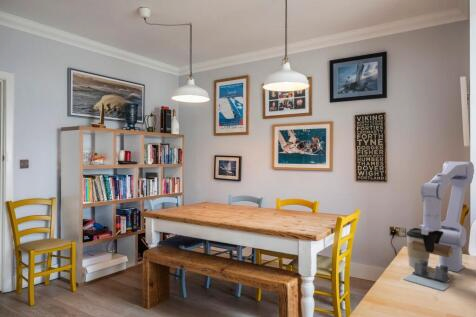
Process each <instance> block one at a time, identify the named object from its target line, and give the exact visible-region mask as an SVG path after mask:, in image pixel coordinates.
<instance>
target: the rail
mask: <svg viewBox="0 0 476 317" xmlns="http://www.w3.org/2000/svg"><path fill="white" fill-rule="evenodd" d="M412 248H413V250H416V251H421V252H426V253H430V255H434V256H435V255H436V256H438V257H439V256H444V257H449V256H451V255H453V248H451V246H447V245H442V244H437V243H435V244H434V250H433V252H432V253H431V252H427V251H426V249H425V245H424V241H422V240H417V239H416V240H414V241H412Z"/></svg>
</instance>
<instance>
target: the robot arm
mask: <svg viewBox="0 0 476 317" xmlns="http://www.w3.org/2000/svg"><path fill="white" fill-rule="evenodd" d="M474 175H475V166H474V163H473V162H472V161H452V160H451V161H449V160H446V161H444V163H443V164H442V172H438V173H437V174H436V175H434V177H433V178H431V180H429V182H425V183H422V185H421V188H420V195H421V197H422V198H421V200H422V202H423V211H422V212H423V213H422V214H423V217H422V218H423V219H422V221H423V222H422V223H423V224H419V227H421V228H420V229H421V232H420V235H421V237H422V239H423V241H424V245H425V249H426V251H427V252H431V253H432V252H433V250H434V244H435V243H437V244H442V245H447V246H451V248H453V255H451V256H449V257H444V256H439V255H438V257H439V259H438V260H439V261H438V264H436V265H435V268H438V269H440V265H443V266H448V271H452V272H456V273H459V272H460V271H461V270H463V269H464V268H465V267H466V266H465V265H464V264H463V250H462V248H463V247H465V245H466V243H467V230H466V228H465V226H464V225H462V224H461V223H460V222H461V217H462V211H463V206H464V202H465V196H466V191H467V187H468V185H470V184H472V181H473V178H474ZM449 185H452V187H451V192H450V197H449V201H448V205H447V211H446V212H447V213H446V216H445V219H444V220H443V221H442V199H444V197H445V193H446V190H447V188H448V187H449Z"/></svg>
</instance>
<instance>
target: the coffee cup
mask: <svg viewBox="0 0 476 317" xmlns="http://www.w3.org/2000/svg"><path fill="white" fill-rule="evenodd" d="M421 229H422V228H419V227H413V228H410V229H409V230H408V231H407V232H406V249H407V257H408V258H407V259H408V266H409V267H410V268H414V269H415V263H418V264H420V260H422V261H427V262H428V263H429V259H430V255H431V254H430V253H426V252H421V251H416V250H413V248H412V241H414V240H416V239H417V240H422V241H423V239H422V237H421V235H420V232H421Z"/></svg>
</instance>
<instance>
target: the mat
mask: <svg viewBox="0 0 476 317" xmlns="http://www.w3.org/2000/svg"><path fill="white" fill-rule="evenodd" d="M403 281H407V282H410V283H413V284H416V285H420V286H424V287H427V288H430V289H434V290H438V291H441V292H444V291H445V290H447V289H448V288H449V287H451V284H448V283H441V282H438V281H434V280H430V279H427V278H423V277H420V276H416V275H412V273H411V274H409V275H408V276H406V277H405V278H403Z"/></svg>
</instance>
